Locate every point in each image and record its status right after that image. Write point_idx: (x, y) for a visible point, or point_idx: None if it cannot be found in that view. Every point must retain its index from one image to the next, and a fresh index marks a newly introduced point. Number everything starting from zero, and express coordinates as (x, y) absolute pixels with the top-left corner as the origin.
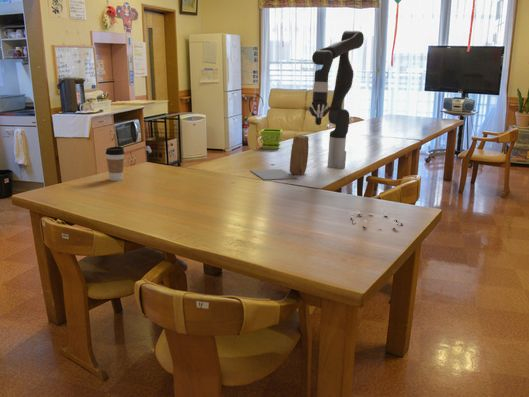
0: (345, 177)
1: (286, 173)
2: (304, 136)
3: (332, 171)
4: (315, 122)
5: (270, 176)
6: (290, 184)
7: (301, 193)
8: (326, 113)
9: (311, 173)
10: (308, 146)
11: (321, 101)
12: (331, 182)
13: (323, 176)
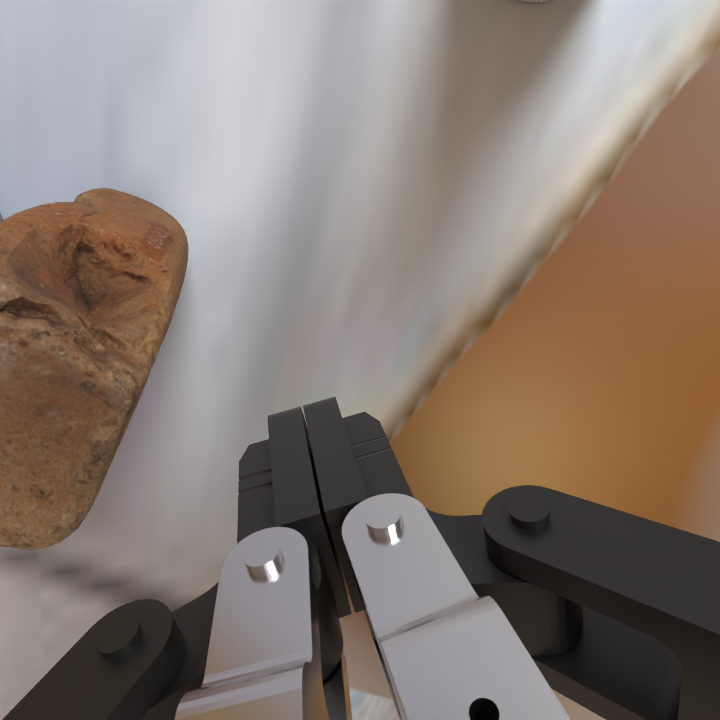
0: (460, 353)
1: None
2: (56, 423)
3: (438, 143)
4: (243, 473)
5: None
6: (57, 572)
7: None
8: (658, 676)
9: (239, 239)
10: (166, 329)
11: None
12: None
13: (314, 338)
